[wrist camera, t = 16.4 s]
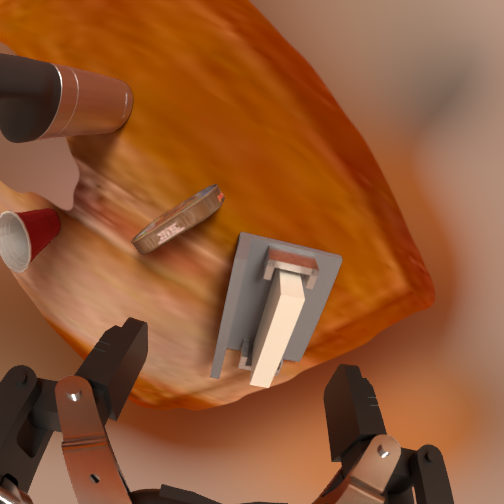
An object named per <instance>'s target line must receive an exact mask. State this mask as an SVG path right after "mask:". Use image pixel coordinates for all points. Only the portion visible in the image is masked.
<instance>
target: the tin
mask: <svg viewBox="0 0 504 504" xmlns="http://www.w3.org/2000/svg"><path fill="white" fill-rule="evenodd" d="M224 199H225V198H224V196H223V194H222V192H221V191H220V189H219V188H218V184H214V185H211V186H209V187H207V188H205V189H203V190H202V191H200V192H198V193H196V194H195V195H193V196H191V197H190V198H188V199H187V200H185V201H183V202H182V203H180V204H179V205H177V206H175V207H174V208H172V209H171V210H169V211H167V212H166V213H164V214H163V215H161V216H160V217H158V218H157V219H156V220H154V221H153V222H151V223H150V224H149V225H148V226H146V227H145V228H144V229H143V230H142V231H140V232H139V233H138V234H137V235H136V236H135V237H134V238H133V239H132V240H131V243H133V245H134V246H135V247H136V249H137V250H138V251H139V252H140V254H142V255H145V254H148V253H150V252H152V251H154V250H156V249H157V248H159V247H161V246H162V245H164V244H166V243H167V242H169V241H171V240H172V239H174V238H176V237H177V236H179V235H181V234H182V233H184V232H186V231H188V230H189V229H191V228H192V227H194V226H196V225H197V224H199V223H201V222H202V221H204V220H205V219H206V218H208V217H209V216H211V215H212V214H213V213H214V212H216V211H217V210H218V209H219V208H220V207H221V205H222V203H223V201H224Z"/></svg>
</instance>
